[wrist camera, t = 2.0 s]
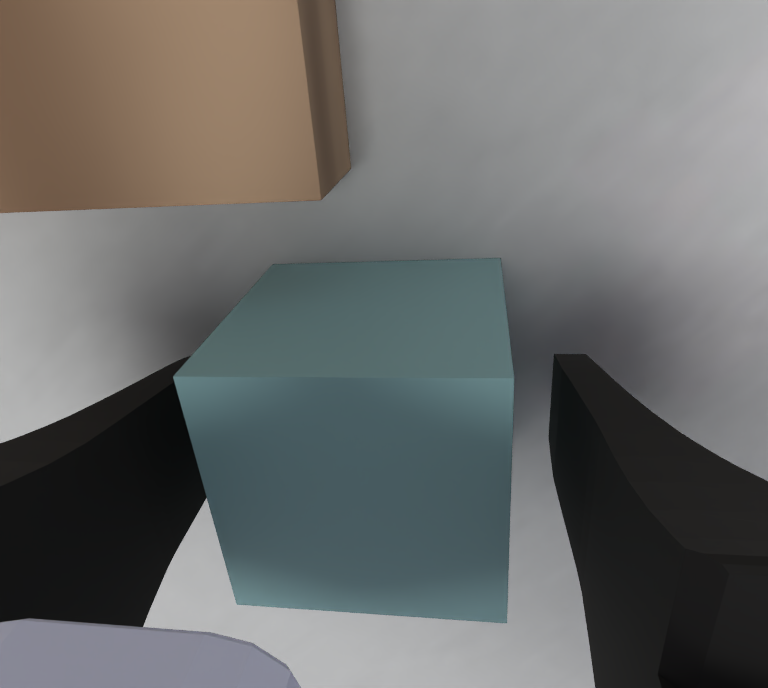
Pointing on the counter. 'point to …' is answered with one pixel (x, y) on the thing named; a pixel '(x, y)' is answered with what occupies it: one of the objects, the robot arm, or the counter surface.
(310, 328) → the teal cube
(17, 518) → the robot arm
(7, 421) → the counter surface
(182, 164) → the walnut block
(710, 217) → the counter surface
